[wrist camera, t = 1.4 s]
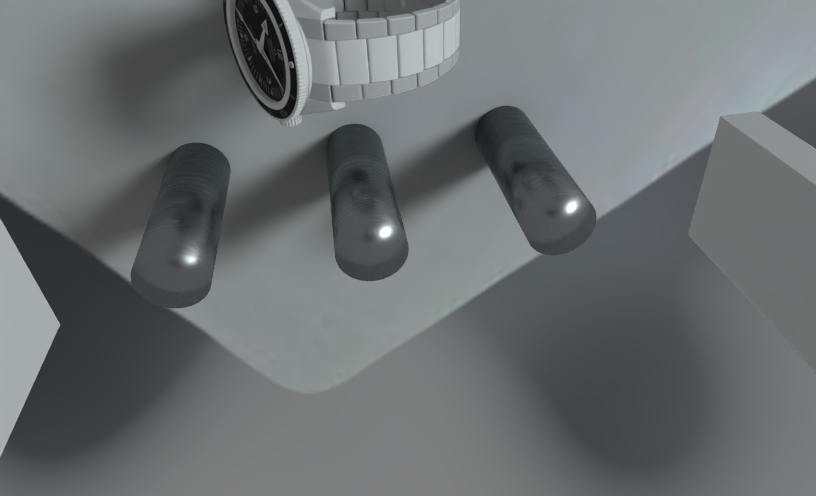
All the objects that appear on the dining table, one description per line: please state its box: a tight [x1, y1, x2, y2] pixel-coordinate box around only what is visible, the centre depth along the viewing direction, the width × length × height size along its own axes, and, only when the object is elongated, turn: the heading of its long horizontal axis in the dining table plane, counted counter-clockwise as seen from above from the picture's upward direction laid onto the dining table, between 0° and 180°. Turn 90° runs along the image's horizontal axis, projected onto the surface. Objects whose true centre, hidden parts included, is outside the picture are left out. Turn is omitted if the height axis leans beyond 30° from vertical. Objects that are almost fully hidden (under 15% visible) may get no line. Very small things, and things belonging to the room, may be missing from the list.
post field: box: [131, 106, 596, 308], centre depth 23 cm, size 20×19×9 cm
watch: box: [223, 0, 460, 126], centre depth 22 cm, size 6×8×11 cm
